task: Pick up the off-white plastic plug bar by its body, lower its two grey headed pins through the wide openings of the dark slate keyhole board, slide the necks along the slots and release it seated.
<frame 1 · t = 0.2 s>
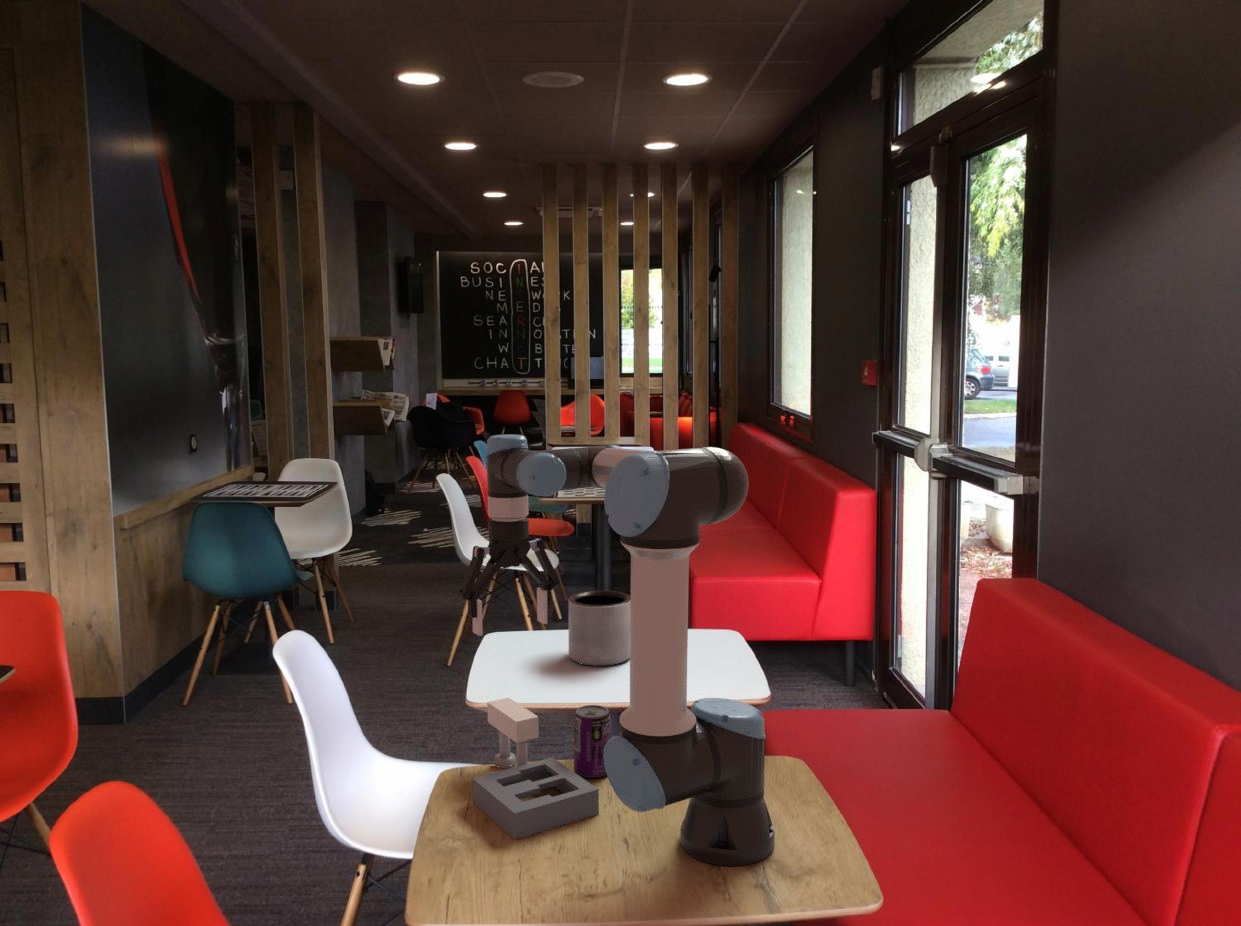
hand: (510, 628, 197), 26 cm above the table, fingers open, 13 cm apart
plug bar: (513, 770, 196), on the table
keyhole board: (535, 808, 180), on the table
beverage can: (593, 773, 195), on the table
planter: (600, 658, 262), on the table
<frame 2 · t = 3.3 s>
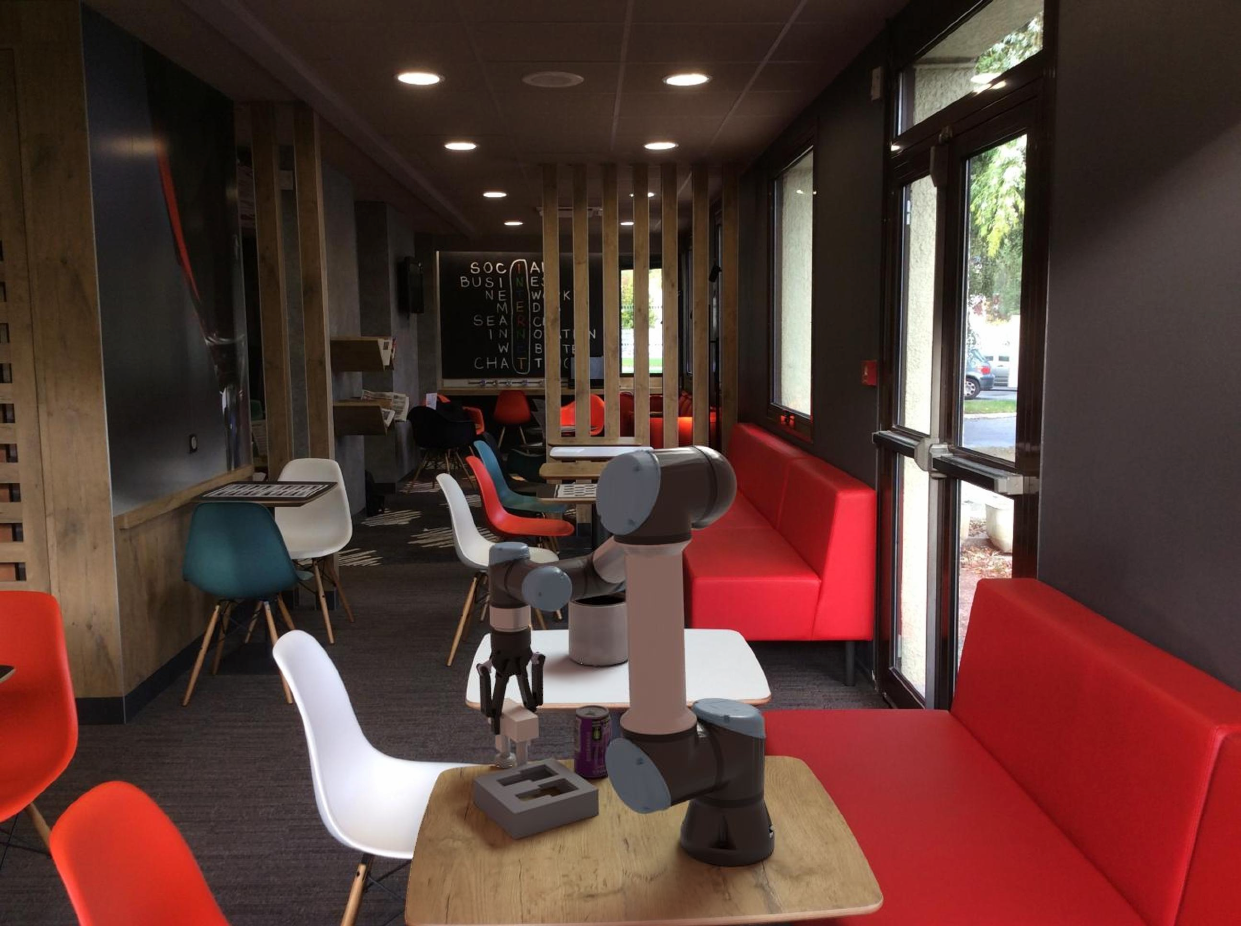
hand: (513, 746, 195), 5 cm above the table, fingers closed on plug bar, 4 cm apart
plug bar: (513, 770, 196), on the table, touching gripper
everything else where it was.
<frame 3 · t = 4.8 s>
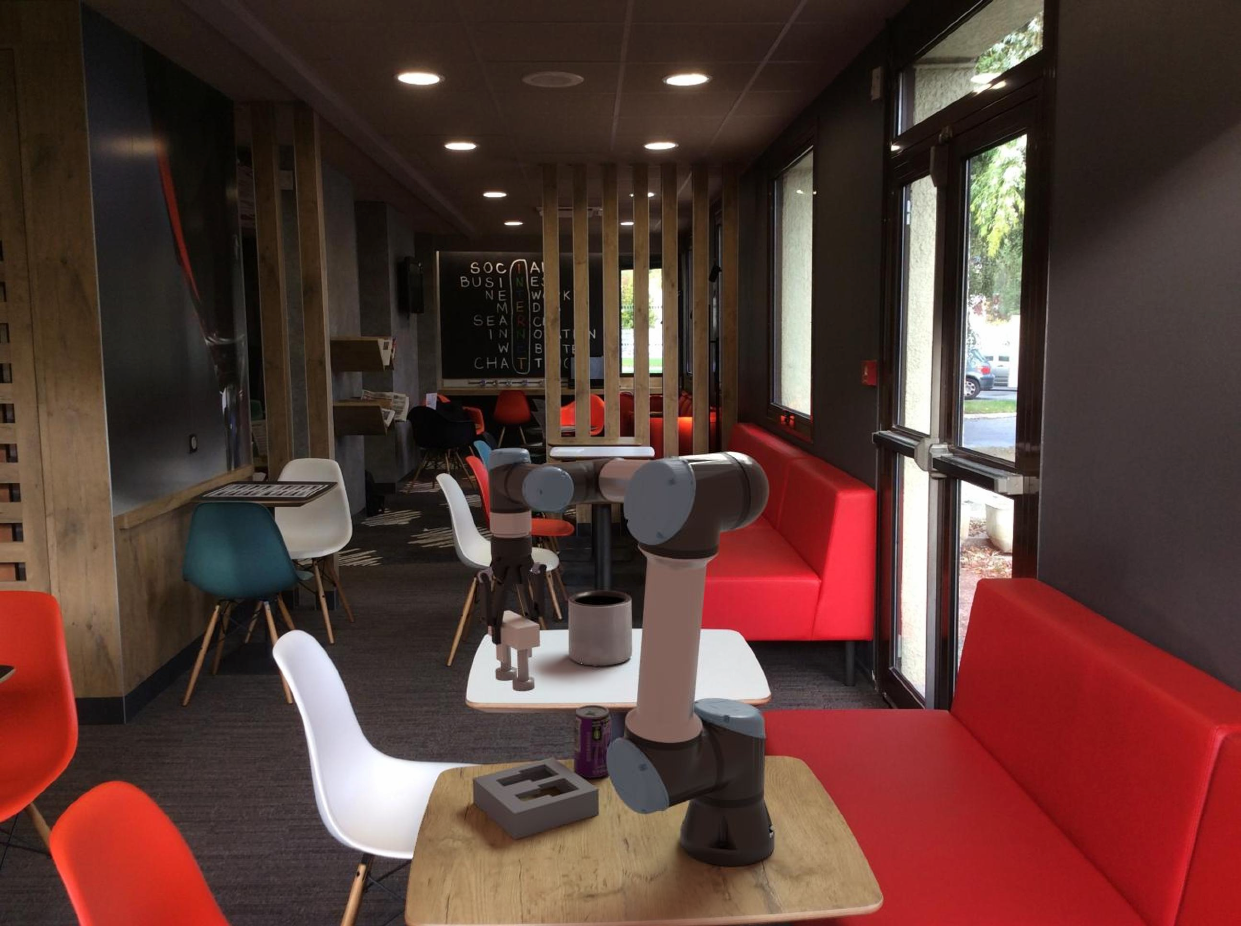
hand: (514, 657, 192), 22 cm above the table, fingers closed on plug bar, 4 cm apart
plug bar: (514, 682, 192), point 18 cm above the table, touching gripper
everything else where it was.
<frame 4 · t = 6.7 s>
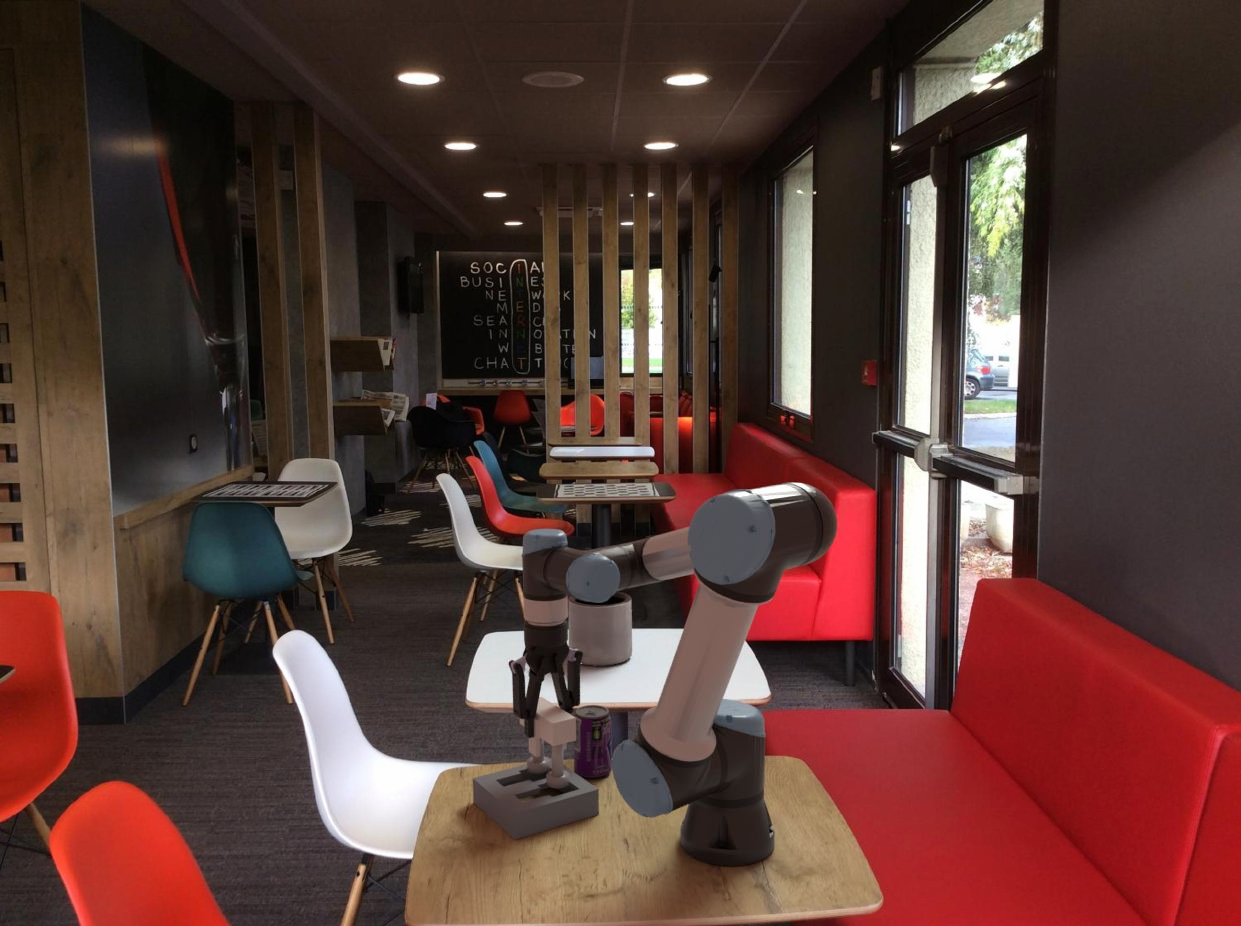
hand: (547, 750, 181), 10 cm above the table, fingers closed on plug bar, 4 cm apart
plug bar: (548, 775, 181), point 5 cm above the table, touching gripper
everything else where it was.
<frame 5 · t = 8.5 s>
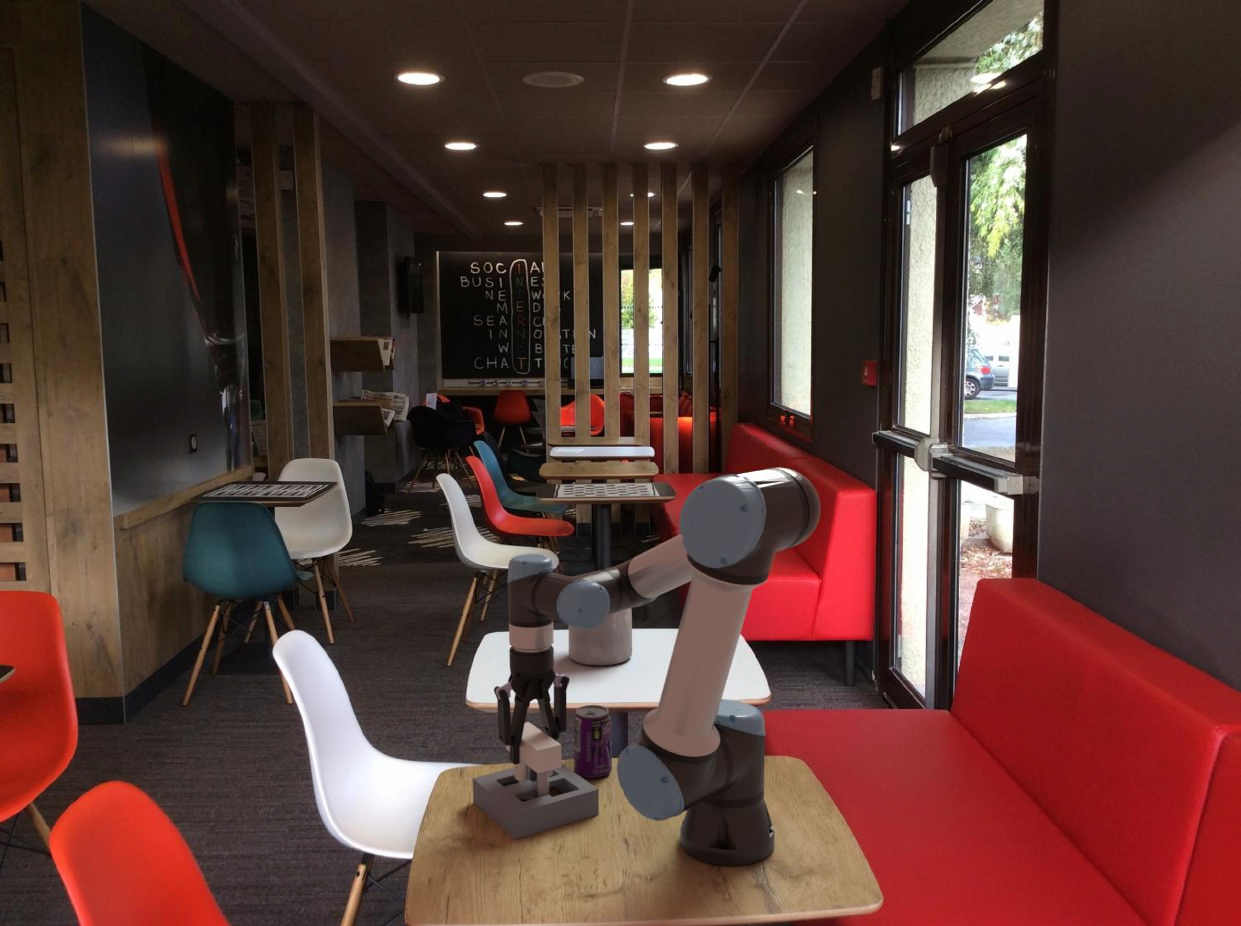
hand: (533, 776, 180), 6 cm above the table, fingers closed on plug bar, 4 cm apart
plug bar: (534, 801, 180), point 1 cm above the table, touching gripper
everything else where it was.
when the fingers open (6 cm above the table, at t = 10.0 s): plug bar stays where it is, resting in keyhole board.
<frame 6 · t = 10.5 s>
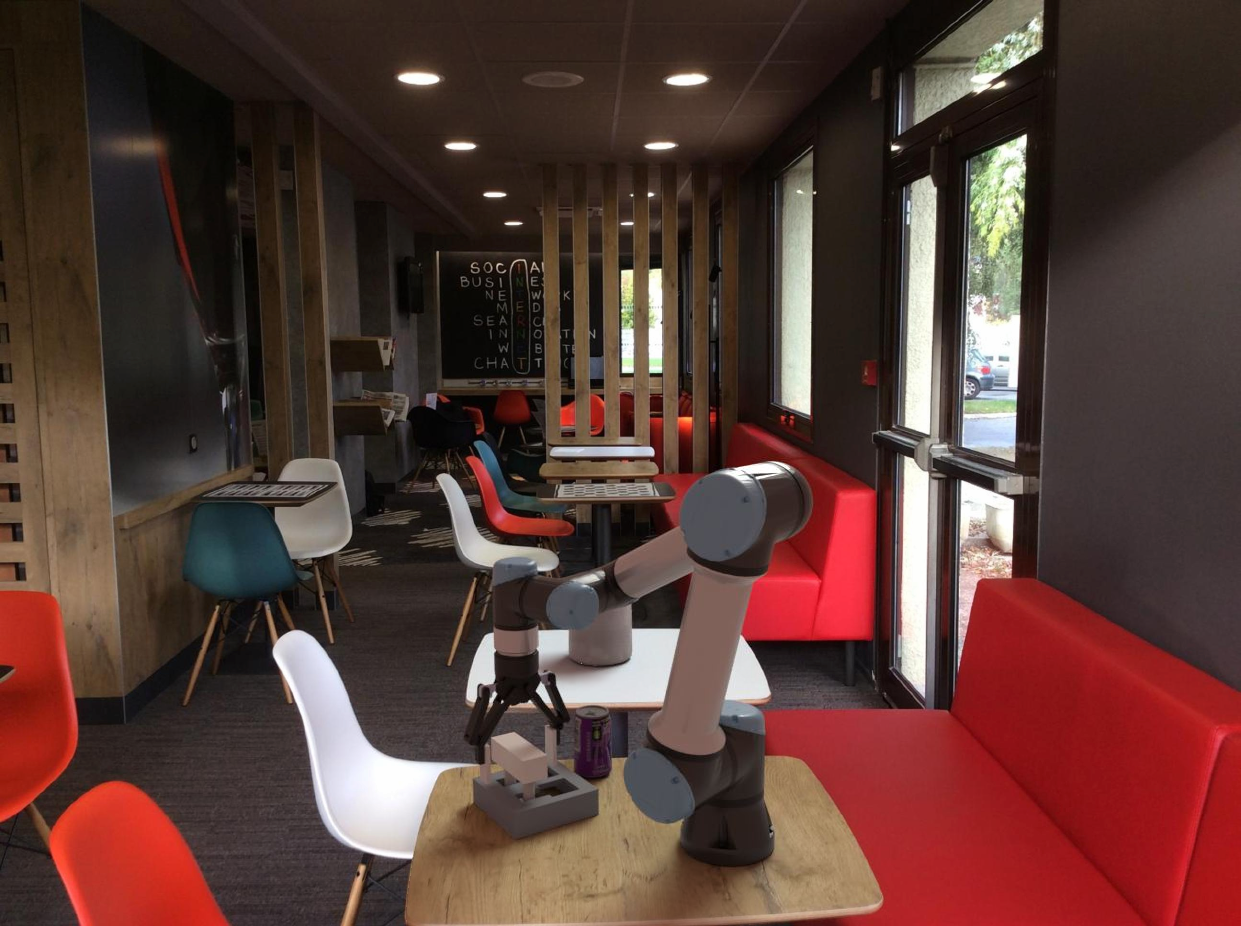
hand: (518, 772, 178), 7 cm above the table, fingers open, 12 cm apart
plug bar: (519, 812, 179), resting in keyhole board
everything else where it was.
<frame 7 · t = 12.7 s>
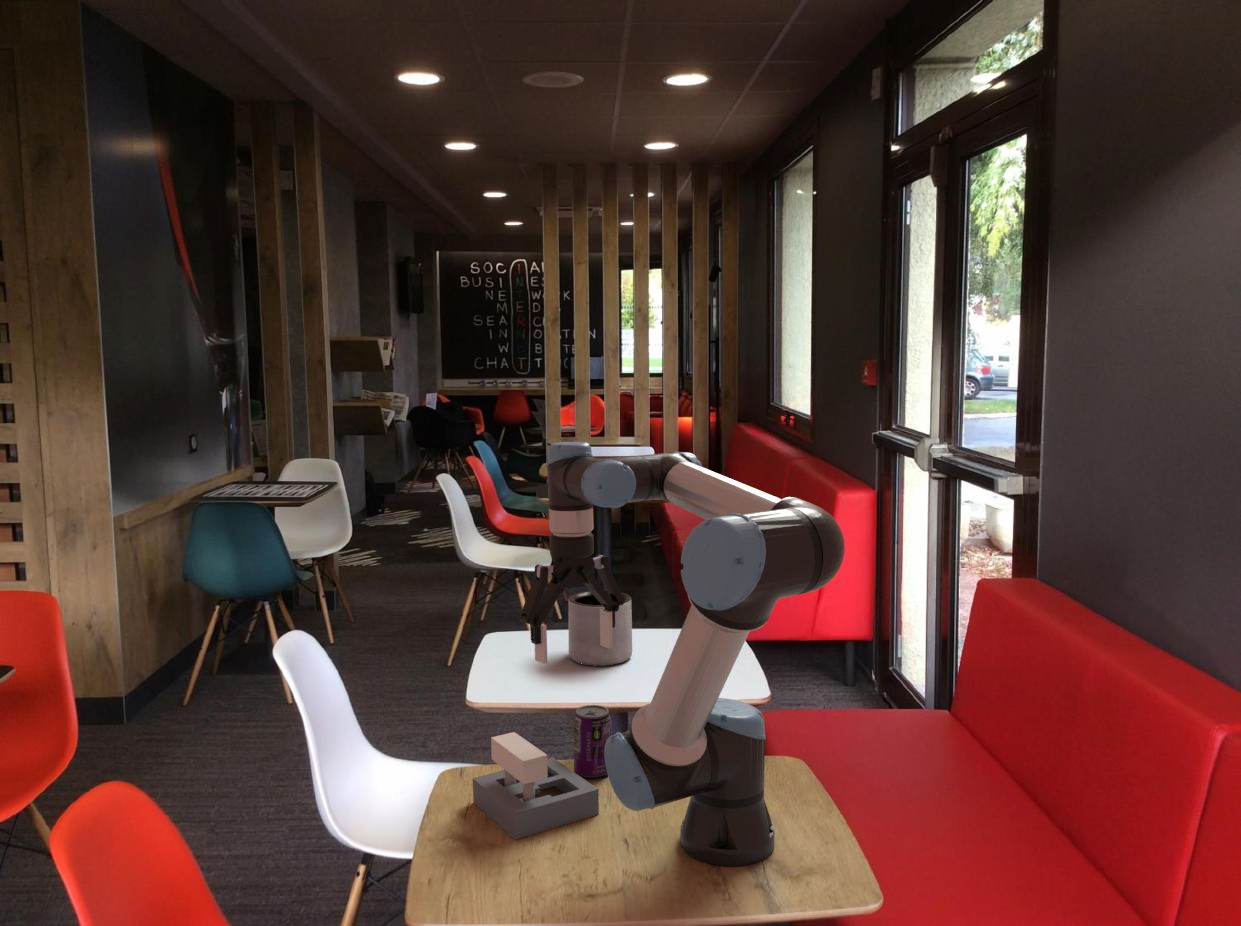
hand: (574, 654, 180), 27 cm above the table, fingers open, 13 cm apart
nothing on the table moved.
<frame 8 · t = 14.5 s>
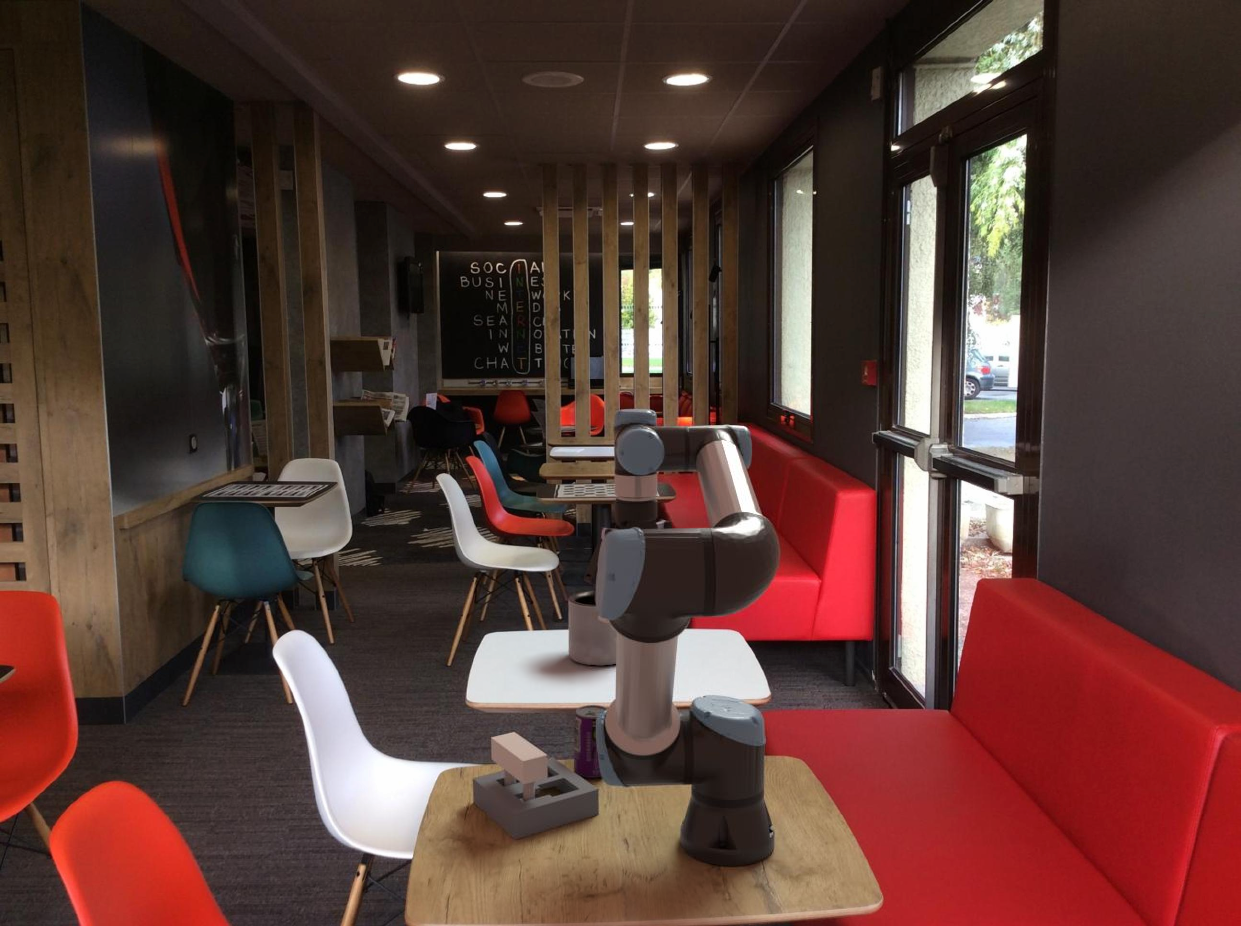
hand: (636, 615, 185), 32 cm above the table, fingers open, 13 cm apart
nothing on the table moved.
at the end: plug bar 0.1 cm from the target spot, resting in keyhole board; plug bar tilted 0°; the gripper is holding nothing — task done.
